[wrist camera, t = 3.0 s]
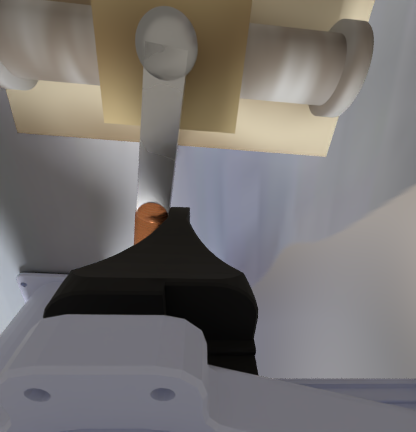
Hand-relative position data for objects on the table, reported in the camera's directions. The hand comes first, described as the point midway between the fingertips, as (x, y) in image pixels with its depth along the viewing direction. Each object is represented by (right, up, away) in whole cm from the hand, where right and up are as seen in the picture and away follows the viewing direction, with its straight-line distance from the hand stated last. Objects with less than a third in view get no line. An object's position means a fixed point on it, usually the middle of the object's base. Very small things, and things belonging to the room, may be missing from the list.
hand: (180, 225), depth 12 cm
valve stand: (0, +9, +2) cm, 9 cm away
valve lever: (-1, +2, -1) cm, 3 cm away
